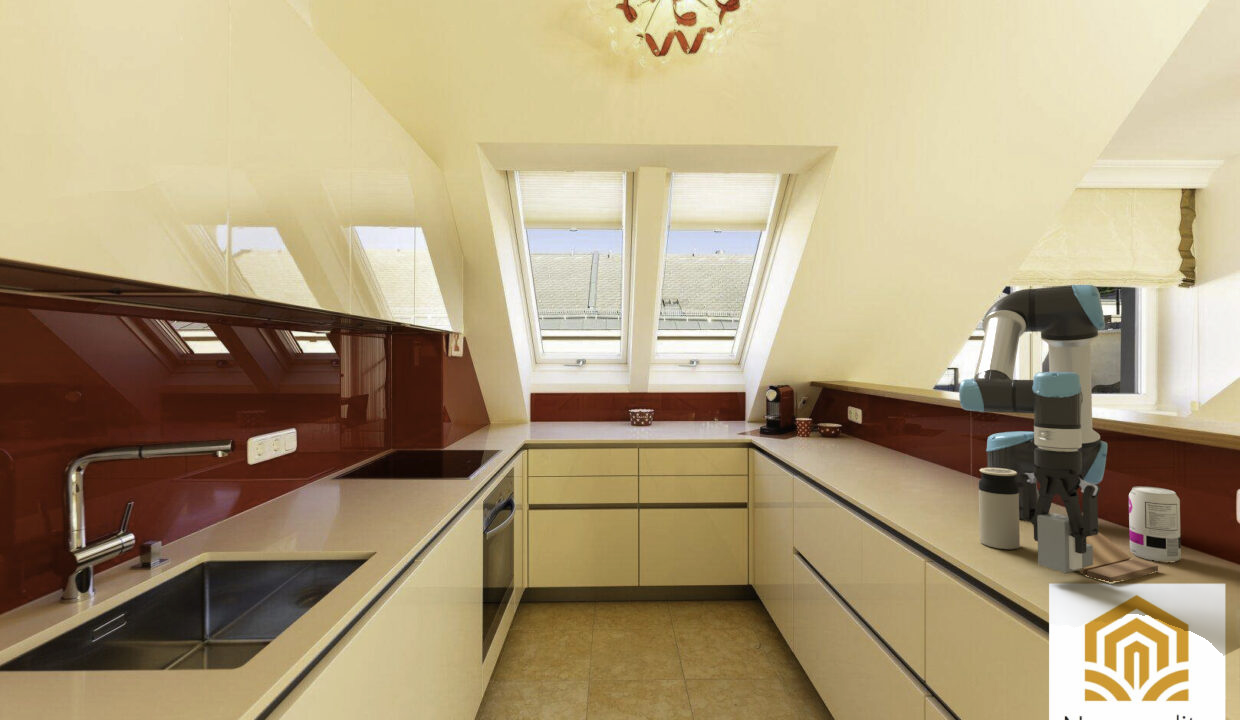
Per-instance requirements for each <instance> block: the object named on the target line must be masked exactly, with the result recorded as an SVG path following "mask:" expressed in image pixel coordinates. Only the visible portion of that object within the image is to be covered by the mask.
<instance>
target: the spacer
mask: <svg viewBox="0 0 1240 720" xmlns="http://www.w3.org/2000/svg"><path fill="white" fill-rule="evenodd" d="M1037 526H1038V542H1037V564H1038V565H1039V566H1042V567H1045V568H1047V569H1051V570H1054V571H1057V572H1061V573H1064V574H1067V573H1071V572H1076V571H1078V570H1081V569H1082V568H1083V567H1087V566H1091V565H1093V545H1089V544H1086V548H1087V551H1086V553H1082V568H1079V569H1075V570H1072V569H1069V535H1071V534H1073V532H1072V528H1071V525H1070V522H1069V518H1068V515H1065V514H1060V513H1055V512H1049V514H1044V515H1038V516H1037Z"/></svg>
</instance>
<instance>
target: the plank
mask: <svg viewBox="0 0 1240 720" xmlns="http://www.w3.org/2000/svg"><path fill="white" fill-rule="evenodd" d="M1086 544H1089V545H1093V565H1091V566H1087V567H1083V568H1082V569H1081V570H1077V571H1078V573H1080V574H1081V575H1084V573H1087V570H1091V569H1095V568H1099V567H1103V566H1107V565H1112V564H1116V563H1120V562H1124V561H1128V560H1132V557H1131V556H1130V555H1129V554H1128V553H1126V552H1124V551H1123V550H1122V549H1121V548H1120V547H1118V546H1117V545H1115V543H1113V542H1112V541H1111V540H1109V539H1108V538H1107V537H1106V536H1104V535H1103V534H1102V533H1100V532H1099V533H1098V534H1097V535H1093V536H1087V538H1086Z"/></svg>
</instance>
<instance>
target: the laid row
mask: <svg viewBox="0 0 1240 720" xmlns="http://www.w3.org/2000/svg"><path fill="white" fill-rule="evenodd" d="M1155 571H1158V572H1159V565H1158V564H1154V563H1151V562H1148V561H1143V560H1140V559H1136V558H1131V559H1130V560H1128V561H1124V562H1120V563H1116V564H1112V565H1107V566H1103V567H1099V568H1095V569H1091V570H1087V573H1084V574H1083V576H1084V575H1087V576H1089V577H1092V578H1096V579H1101V580H1105V581H1109V582H1113V581H1121V580H1126V581H1129V579H1130V580H1133V579H1137V578H1140V576H1141V577H1145V576H1148V575H1147V574H1149V575H1151V574H1150V573H1152V572H1155ZM1152 574H1153V573H1152ZM1144 575H1145V576H1144ZM1089 577H1088V578H1089ZM1136 577H1137V578H1136ZM1092 578H1091V579H1092ZM1132 578H1133V579H1132Z"/></svg>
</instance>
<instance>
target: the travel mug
mask: <svg viewBox="0 0 1240 720" xmlns="http://www.w3.org/2000/svg"><path fill="white" fill-rule="evenodd" d="M979 472H980V475H981V477H980V480H979V481H978V510H979V511H978V516H979V519H978V520H979V543H981V544H983V545H985V546H987V547H989V548H992V549H999V550H1008V551H1011V550H1017V549H1019V548H1020V547H1021V542H1020V541H1021V539H1020V538H1021V537H1020V536H1021V535H1020V519H1019V486H1018V484H1017V483H1016V481H1015V476H1016V475H1017V472H1016V471H1013V470H1009V469H1002V468H988V467H981V468H980V469H979Z"/></svg>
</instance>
